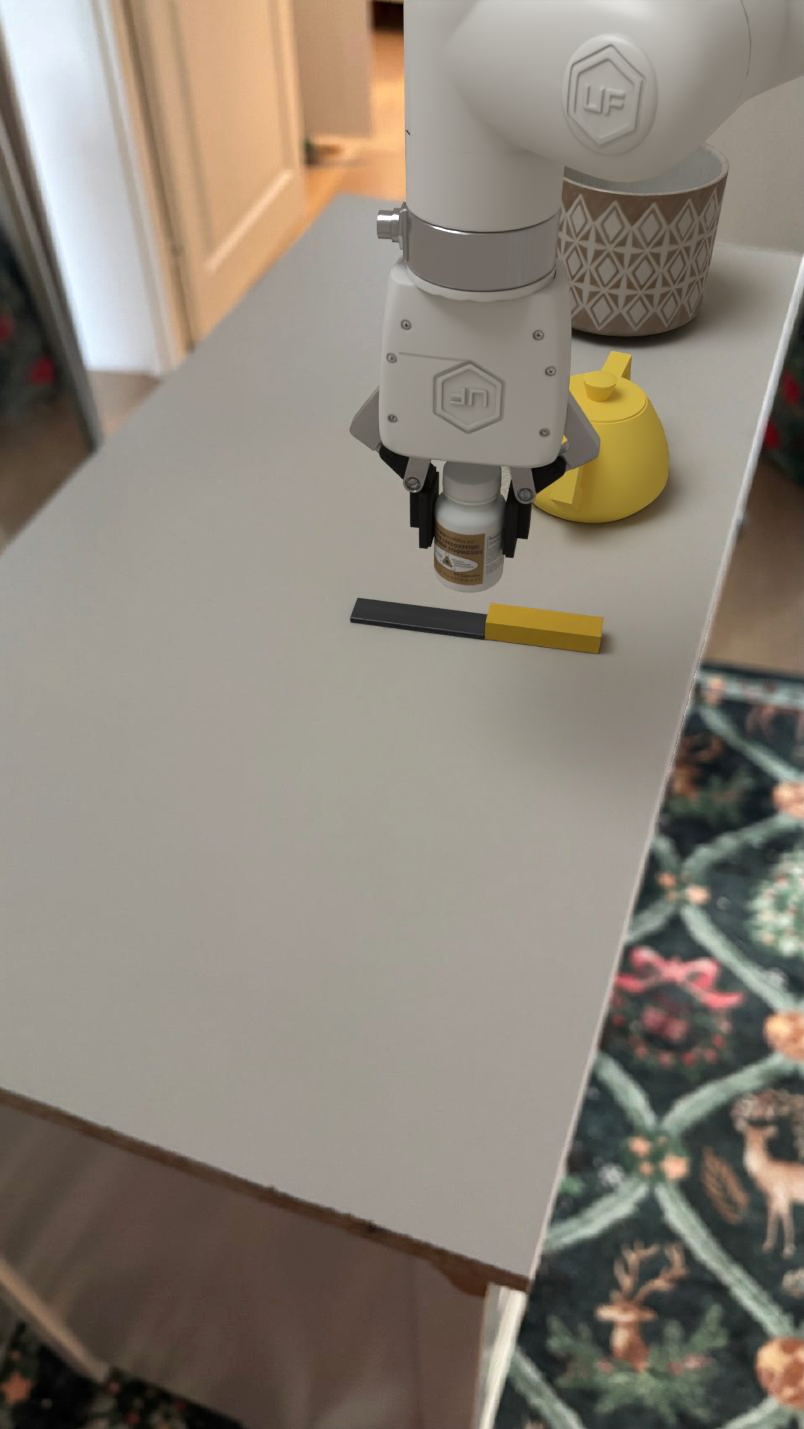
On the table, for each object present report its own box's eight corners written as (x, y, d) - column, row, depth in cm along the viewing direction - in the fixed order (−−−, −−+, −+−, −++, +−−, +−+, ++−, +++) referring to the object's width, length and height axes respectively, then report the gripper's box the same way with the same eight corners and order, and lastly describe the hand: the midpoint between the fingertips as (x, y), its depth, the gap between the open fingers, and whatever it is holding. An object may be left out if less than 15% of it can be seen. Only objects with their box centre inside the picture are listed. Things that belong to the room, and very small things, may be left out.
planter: (554, 265, 134) (567, 120, 122) (711, 287, 129) (741, 138, 117) (511, 335, 121) (522, 181, 109) (684, 362, 116) (714, 204, 105)
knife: (600, 633, 86) (603, 616, 85) (598, 655, 84) (601, 637, 83) (357, 601, 89) (356, 584, 88) (350, 622, 87) (349, 605, 86)
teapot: (503, 411, 110) (509, 307, 102) (683, 445, 105) (704, 338, 97) (437, 521, 97) (438, 411, 89) (639, 565, 92) (659, 452, 84)
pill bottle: (420, 578, 68) (419, 473, 62) (458, 544, 70) (462, 440, 65) (478, 604, 66) (483, 498, 61) (516, 568, 69) (524, 463, 63)
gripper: (297, 261, 52) (322, 562, 65) (651, 286, 50) (603, 593, 63) (333, 202, 57) (349, 492, 70) (656, 222, 55) (611, 518, 68)
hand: (469, 537), depth 66 cm, fingers closed on pill bottle, 4 cm apart
